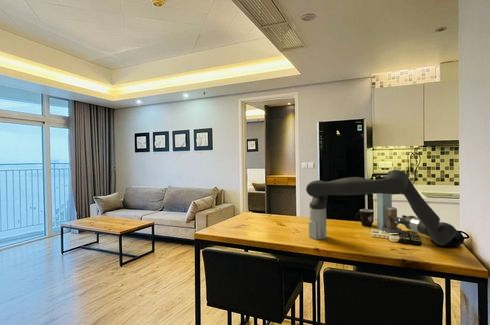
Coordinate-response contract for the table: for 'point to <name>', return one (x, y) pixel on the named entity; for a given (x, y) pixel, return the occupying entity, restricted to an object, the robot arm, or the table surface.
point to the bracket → (391, 230)
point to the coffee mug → (366, 217)
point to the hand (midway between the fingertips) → (395, 217)
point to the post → (383, 209)
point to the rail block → (393, 213)
